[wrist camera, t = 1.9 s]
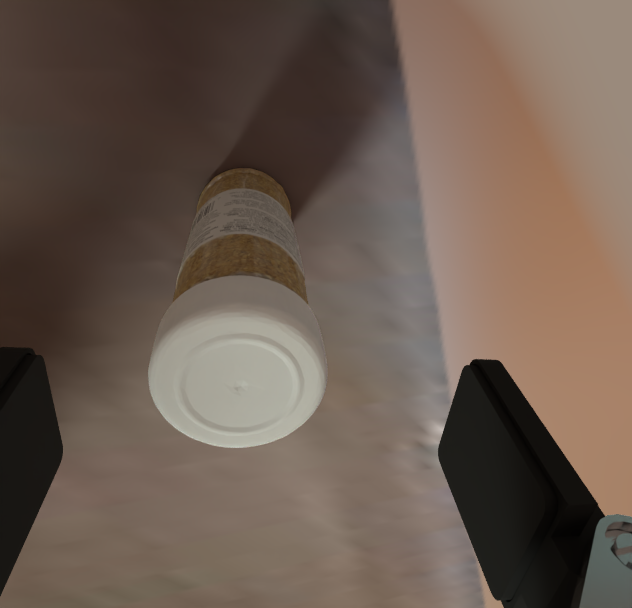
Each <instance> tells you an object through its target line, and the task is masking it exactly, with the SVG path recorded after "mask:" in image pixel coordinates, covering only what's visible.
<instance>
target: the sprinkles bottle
mask: <svg viewBox="0 0 632 608" xmlns="http://www.w3.org/2000/svg"><path fill="white" fill-rule="evenodd" d="M304 281H305V276H304V271H303V266H302V262H301V256H300V252H299V247H298V243H297V238H296V234H295V229H294V226H293V223H292V220H291V208H290V203H289V200H288V198H287V196H286V194H285V192H284V190H283V188H282V186H281V185H280V184H278V183H277V182H276V181H275V180H274V179H273V178H272V177H270V176H268V175H267V174H265V173H263V172H261V171H258V170H254V169H251V168H237V169H232V170H228V171H225V172H223V173H221V174H219V175H217V176H216V177H214V178H213V179H212V180H211V181H210V182H209V183H208V184H207V185H206V187H205V189H204V190H203V191H202V193H201V195H200V197H199V201H198V206H197V214H196V216H195V219H194V221H193V225H192V228H191V231H190V234H189V238H188V241H187V245H186V248H185V252H184V255H183V259H182V263H181V266H180V270H179V273H178V277H177V282H176V290H175V293H174V298H173V303H172V304H171V305H170V307H169V308H168V309H167V311H166V312H165V314H164V316H163V317H162V320H161V322H160V324H159V327H158V330H157V334H156V337H155V341H154V345H153V349H152V354H151V358H150V363H149V368H148V380H149V389H150V393H151V395H152V398H153V400H154V403H155V405H156V407H157V408H158V410H159V411H160V413H161V414H162V415H163V417H164V418H165V419H166V420H167V421H168V422H169V423H170V424H171V425H172V426H173V427H175V428H176V429H177V430H179V431H180V432H182V433H183V434H185V435H187V436H189V437H191V438H193V439H195V440H198V441H201V442H203V443H207V444H210V445H214V446H219V447H229V448H244V447H252V446H258V445H263V444H266V443H270V442H273V441H275V440H278V439H280V438H282V437H285V436H286V435H288V434H290V433H292V432H293V431H295V430H296V429H297V428H299V427H300V426H301V425H303V424H304V423H305V422H306V421H307V420H308V419H309V418H310V417H311V415H312V414H313V413H314V412H315V410H316V409H317V407H318V405H319V404H320V402H321V400H322V398H323V395H324V393H325V389H326V385H327V375H328V367H327V360H326V354H325V348H324V344H323V339H322V335H321V331H320V327H319V324H318V321H317V319H316V317H315V315H314V313H313V312H312V310H311V309H310V307H309V305H308V301H307V296H306V287H305V283H304Z"/></svg>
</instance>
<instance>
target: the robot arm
mask: <svg viewBox="0 0 632 608" xmlns="http://www.w3.org/2000/svg"><path fill="white" fill-rule="evenodd" d="M62 455H63V445H62V440H61V435H60V431H59V426H58V422H57V417H56V413H55V408H54V403H53V399H52V394H51V390H50V385H49V381H48V376H47V372H46V367H45V362H44V359H43V357H42V356H41V355H35V352H34V351H33V349H31V348H14V347H1V348H0V596H1V594H2V591H3V589H4V587H5V585H6V583H7V580H8V578H9V576H10V574H11V571H12V569H13V567H14V565H15V563H16V560H17V558H18V556H19V554H20V552H21V549H22V547H23V545H24V543H25V540H26V538H27V536H28V534H29V532H30V529H31V527H32V525H33V523H34V521H35V518H36V516H37V514H38V512H39V509H40V507H41V505H42V503H43V501H44V498H45V496H46V494H47V492H48V490H49V487H50V485H51V483H52V481H53V479H54V476H55V474H56V472H57V470H58V467H59V465H60V463H61V460H62ZM438 457H439V461H440V464H441V467H442V469H443V472H444V474H445V477H446V479H447V482H448V484H449V487H450V490H451V492H452V495H453V497H454V500H455V502H456V505H457V507H458V510H459V512H460V515H461V518H462V520H463V523H464V525H465V528H466V530H467V533H468V535H469V538H470V540H471V543H472V545H473V548H474V551H475V553H476V556H477V558H478V561H479V563H480V566H481V568H482V571H483V573H484V576H485V578H486V581H487V584H488V586H489V588H490V591H491V593H492V595H493V597H494V598H495V599H496V600H501V602H502V604H503V607H504V608H632V517H630V516H624V515H619V514H616V515H607V516H605V515H604V514H603V512H602V511H601V509H600V508H599V507H598V504H597V502H596V501H595V499H594V498H593V497H592V495H591V493H590V492H589V491H588V489H587V487H586V486H585V485H584V483H583V482H582V480H581V479H580V477H579V476H578V474H577V473H576V471H575V470H574V468H573V467H572V465H571V464H570V463H569V461H568V460H567V458H566V457H565V455H564V454H563V452H562V451H561V449H560V448H559V446H558V445H557V444H556V442H555V441H554V439H553V438H552V436H551V435H550V433H549V432H548V430H547V429H546V427H545V426H544V424H543V423H542V422H541V420H540V419H539V417H538V416H537V414H536V413H535V411H534V410H533V408H532V407H531V405H530V404H529V403H528V401H527V400H526V398H525V397H524V395H523V394H522V392H521V391H520V389H519V388H518V386H517V385H516V384H515V382H514V381H513V379H512V378H511V376H510V375H509V373H508V372H507V370H506V369H505V368H504V366H503V364H502V363H501V362H500V361H498V360H483V359H475V360H472V362H471V363H470V365H466V366H464V368H463V370H462V373H461V376H460V379H459V383H458V386H457V389H456V392H455V396H454V399H453V402H452V405H451V408H450V412H449V415H448V418H447V421H446V424H445V428H444V431H443V434H442V437H441V441H440V444H439V448H438Z"/></svg>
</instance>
